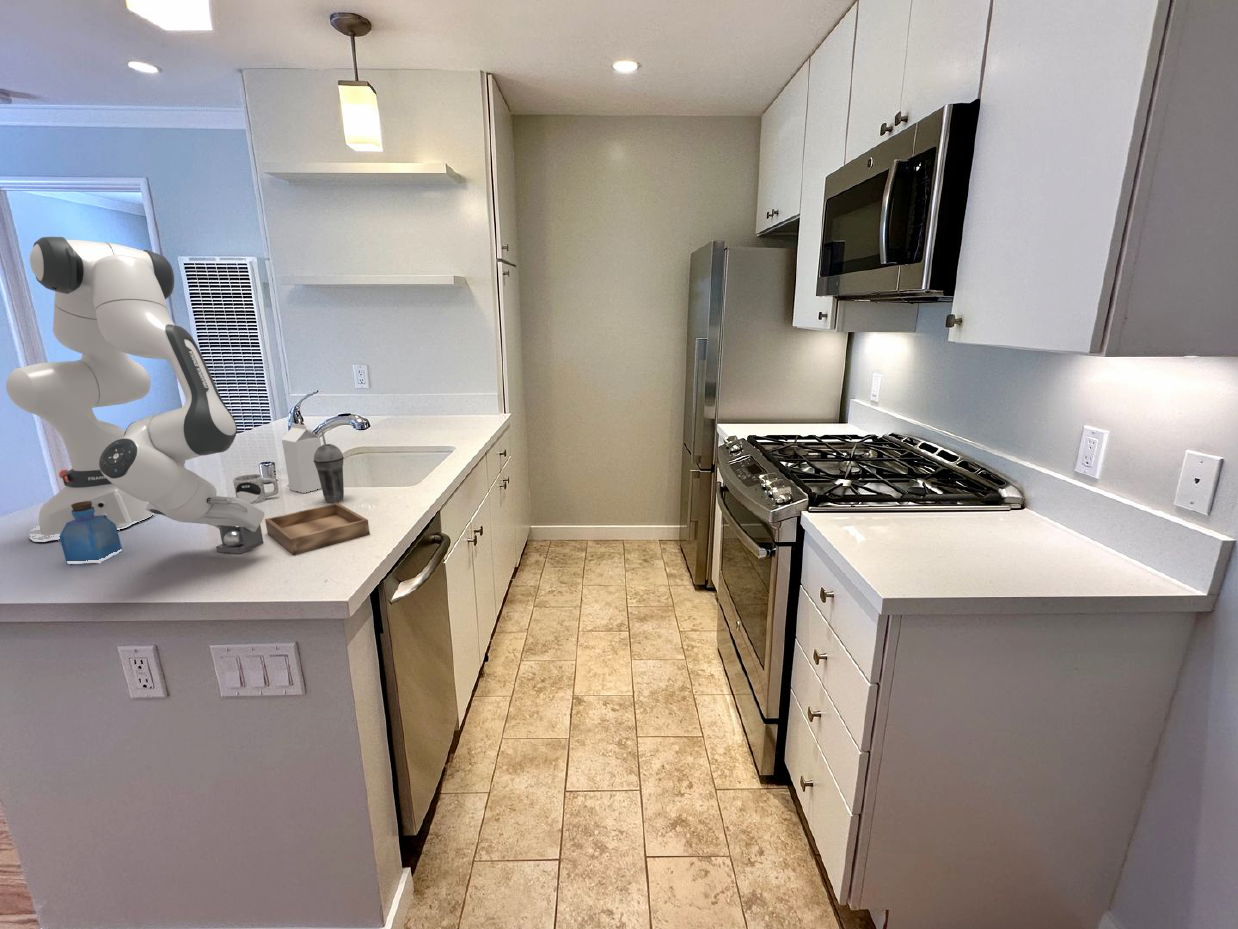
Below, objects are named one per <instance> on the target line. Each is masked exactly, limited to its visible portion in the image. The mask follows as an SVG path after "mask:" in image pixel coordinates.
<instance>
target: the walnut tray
mask: <svg viewBox="0 0 1238 929" xmlns="http://www.w3.org/2000/svg"><path fill="white" fill-rule="evenodd" d="M264 522H265V527H266V528H265V529H266V532H267V534H268V535H269V536H270V537H271V538H273V540H275V541H276V542H277V543H278V544H279V545H281V546H282V547H283V548H284V549H286V550H287V551H288V552H289V553H290V554H292V555H293V556H296V555H298V554H304V553H307V552H310V551H313V550H317V549H321V548H325V547H328V546H331V545H332V546H333V545H336V544H340V543H343V542H347V541H350V540H354V539H357V538H361V537H365V536H369V535H370V534H371V533H370V526H369V520H368V518H366V517H364V516H362V515H360V514H359V513H356V512H355V511H353V510H351V509H350V508H348V507H346V506H344V505H342V504H340V502H337V503H329V504H326V505H322V506H318V507H317V506H316V507H313V508H307V509H305V510H301V511H295V512H291V513H287V514H282V515H277V516H272V517H269V518H265V519H264Z"/></svg>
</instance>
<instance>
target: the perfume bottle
mask: <svg viewBox="0 0 1238 929" xmlns="http://www.w3.org/2000/svg"><path fill="white" fill-rule="evenodd" d="M71 507H72V508H73V510H72V511H71V512H72V516H75V520H72V521H70V522H67V523H66V525H65V527H64V529H63V531H62V533H61V534H60V536H59V537H60V540H59V542H60V544H61V549H62V551H63V555H64V559H65V562H66V561H86V560H87V561H88V560H99V559H101V558H105V557H106V556H108V555H109V554H111V553H113V552H117V551H118V550H120V549H122V550H123V548H122V544H121V540H120V536H119V531H117V527H116V524H114V523H113V522H112V521H110V520H109V519H108V518H106V517H105V516H104V515H101V516H94V513H95V509H94V507H92V502H91V501H84V502H78V503H74V504H72V505H71Z"/></svg>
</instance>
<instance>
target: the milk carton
mask: <svg viewBox="0 0 1238 929" xmlns="http://www.w3.org/2000/svg"><path fill="white" fill-rule="evenodd" d="M281 442H282V450H283V455H284V460H285V461H284V462H285V466H286V467H285V468H286V474H287V475H286V476H287V481H288V485H289V486H288V487H289V490H291V491H293V492H296V491H298V492H297V493H300V492H301V494H306V492H307V493H310V491H311V492H314V491H317V489H318V490H322V487H321V483H320V479H319V475H318V471H317V469H316V466H315V463H314V454H315V452H316V450H317V449H318V448H319V447H320V446H322V443H321V437H320V436H318V435H317V434H316V433H314V432H313V430H312V429H311V428H310V427H307V425H305V424H298V423H293V422H291V428H290V429H289V430H288V431H287V433H286V434H285V435H284V436H283V437H282V438H281Z"/></svg>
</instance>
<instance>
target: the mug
mask: <svg viewBox="0 0 1238 929" xmlns="http://www.w3.org/2000/svg"><path fill="white" fill-rule="evenodd" d="M232 481H233V488H234V493H235V498H239V499H242V500H244V501H246V502H248V503H250V504H252V505H255V504H260V503H262V502H265V501H266V500H267V498H268V497H269V498H270V497H272V496H277V495H278V494H279V484H278V481H277V479H276V478H273V477H272V478H271V477H263V474H260V473H259V474H258V473H257V474H256V473H255V474H253V473H251V474H245V475H243V474H242V475H239V476H236V477H233V479H232ZM265 483H272V486H273V491H271V492H270V491H269V492H268V491H267V492H266V491H265V485H264V484H265Z"/></svg>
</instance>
